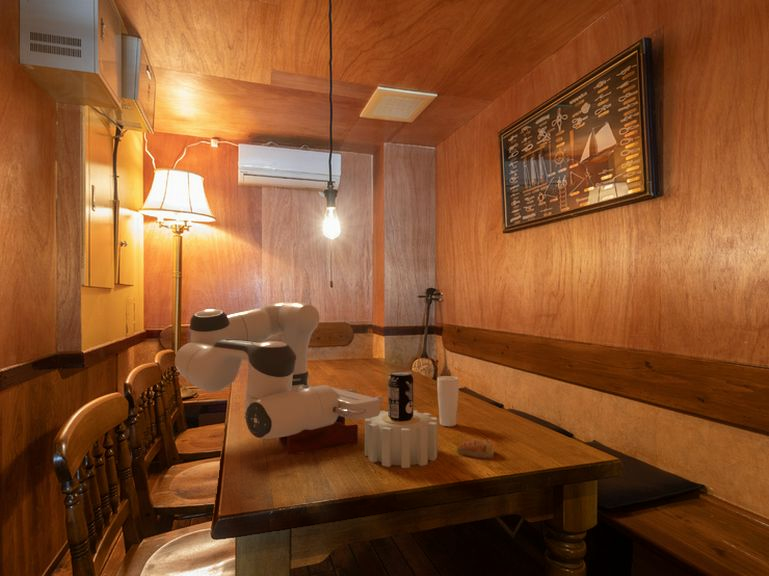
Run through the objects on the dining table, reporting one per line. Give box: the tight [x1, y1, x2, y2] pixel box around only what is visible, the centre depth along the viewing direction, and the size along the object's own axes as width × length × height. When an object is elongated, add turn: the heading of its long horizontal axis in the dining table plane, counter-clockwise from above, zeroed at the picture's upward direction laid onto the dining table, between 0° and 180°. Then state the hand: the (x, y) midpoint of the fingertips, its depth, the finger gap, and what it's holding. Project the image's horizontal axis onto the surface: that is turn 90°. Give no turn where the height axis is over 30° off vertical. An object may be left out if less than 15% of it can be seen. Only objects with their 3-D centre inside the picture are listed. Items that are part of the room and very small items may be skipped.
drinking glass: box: [436, 375, 460, 428], centre depth 140 cm, size 7×7×15 cm
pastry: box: [456, 438, 494, 459], centre depth 115 cm, size 9×7×4 cm
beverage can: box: [387, 370, 414, 421], centre depth 115 cm, size 7×7×12 cm
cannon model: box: [244, 413, 359, 455], centre depth 121 cm, size 13×30×15 cm, turn 116°
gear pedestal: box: [364, 409, 439, 469], centre depth 115 cm, size 19×19×9 cm
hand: (367, 396), depth 106 cm, fingers open, 8 cm apart
